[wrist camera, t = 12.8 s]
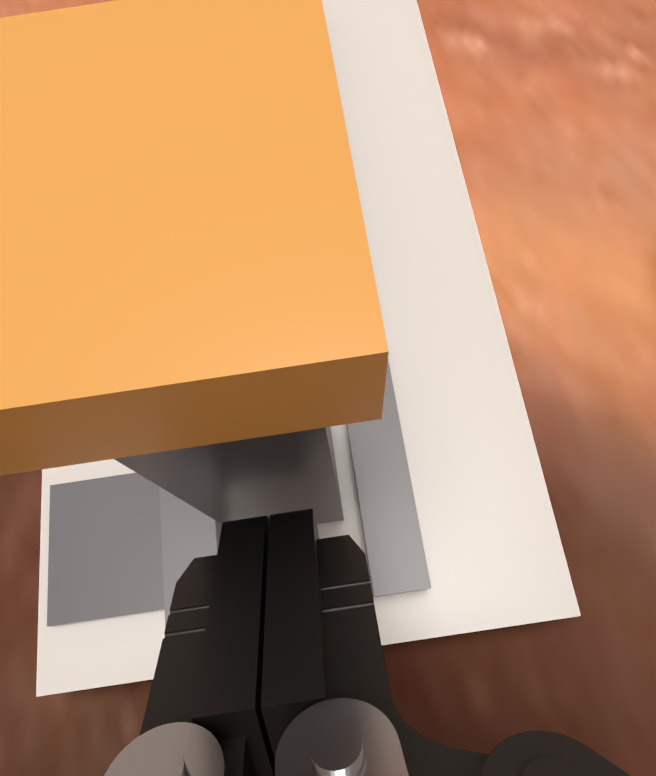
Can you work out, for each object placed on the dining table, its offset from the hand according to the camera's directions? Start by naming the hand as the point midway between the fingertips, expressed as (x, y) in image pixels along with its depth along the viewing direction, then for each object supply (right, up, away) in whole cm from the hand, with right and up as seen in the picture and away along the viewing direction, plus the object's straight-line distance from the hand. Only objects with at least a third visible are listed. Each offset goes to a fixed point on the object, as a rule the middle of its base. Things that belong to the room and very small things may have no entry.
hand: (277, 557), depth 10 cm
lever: (0, +1, +4) cm, 4 cm away
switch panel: (-1, +6, +8) cm, 10 cm away
